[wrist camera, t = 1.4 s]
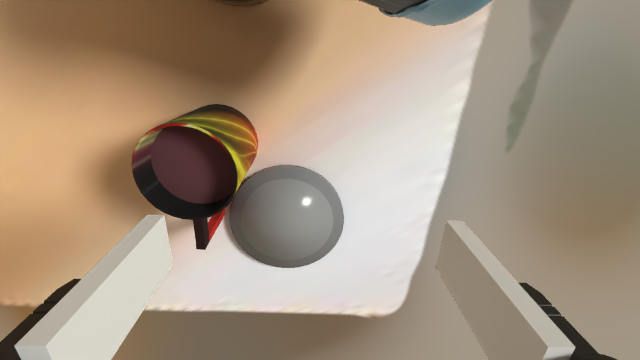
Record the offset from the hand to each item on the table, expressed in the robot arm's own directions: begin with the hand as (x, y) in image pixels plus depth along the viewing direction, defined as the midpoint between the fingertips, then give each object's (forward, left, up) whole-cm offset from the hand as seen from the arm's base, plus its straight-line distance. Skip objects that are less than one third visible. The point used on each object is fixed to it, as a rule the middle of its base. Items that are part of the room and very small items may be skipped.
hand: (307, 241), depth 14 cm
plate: (+13, -2, -26) cm, 30 cm away
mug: (+4, -10, -27) cm, 29 cm away
